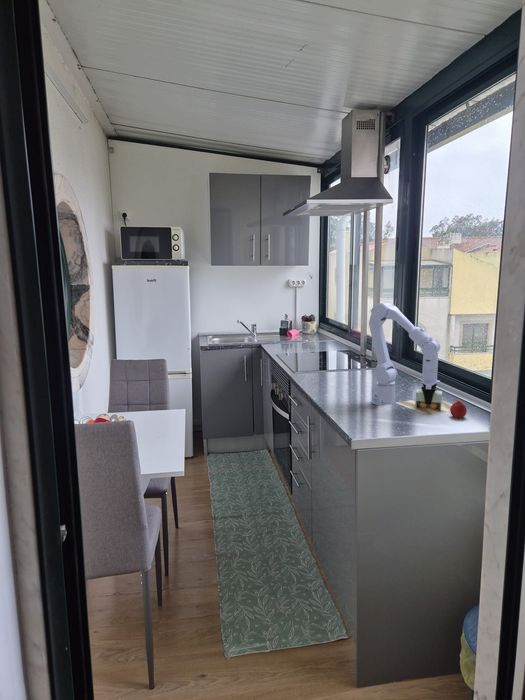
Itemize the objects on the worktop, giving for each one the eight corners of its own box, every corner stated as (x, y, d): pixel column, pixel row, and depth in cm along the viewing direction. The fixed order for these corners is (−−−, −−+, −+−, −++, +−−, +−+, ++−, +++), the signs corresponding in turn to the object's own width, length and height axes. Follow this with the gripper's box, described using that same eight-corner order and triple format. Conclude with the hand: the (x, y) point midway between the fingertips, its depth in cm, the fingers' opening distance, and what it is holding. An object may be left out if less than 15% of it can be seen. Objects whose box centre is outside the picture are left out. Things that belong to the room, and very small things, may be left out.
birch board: (426, 417, 179) (426, 414, 179) (394, 404, 197) (394, 402, 197) (464, 410, 187) (464, 408, 187) (431, 399, 204) (431, 397, 204)
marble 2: (433, 410, 185) (433, 403, 185) (427, 408, 188) (428, 401, 187) (438, 409, 186) (439, 402, 186) (433, 407, 189) (433, 400, 188)
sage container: (415, 408, 187) (415, 392, 186) (416, 405, 192) (416, 389, 191) (441, 411, 183) (441, 394, 182) (441, 407, 188) (442, 391, 187)
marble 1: (422, 409, 187) (423, 402, 186) (417, 407, 189) (418, 400, 189) (428, 408, 188) (428, 401, 187) (423, 406, 191) (423, 399, 190)
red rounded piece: (461, 417, 179) (462, 397, 178) (468, 421, 173) (470, 401, 172) (447, 417, 179) (448, 397, 177) (453, 422, 173) (454, 401, 172)
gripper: (440, 374, 177) (438, 407, 179) (440, 366, 190) (439, 398, 192) (420, 373, 180) (419, 406, 182) (423, 365, 193) (421, 396, 195)
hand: (428, 402), depth 187 cm, fingers closed on sage container, 6 cm apart
